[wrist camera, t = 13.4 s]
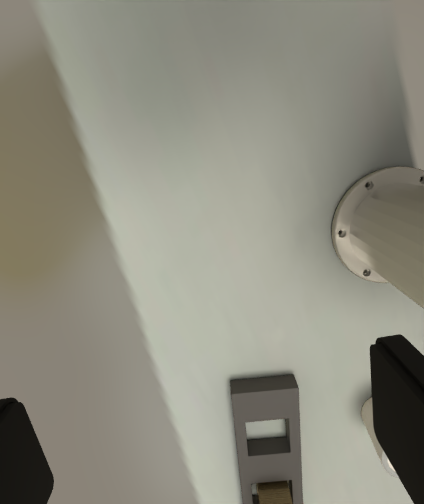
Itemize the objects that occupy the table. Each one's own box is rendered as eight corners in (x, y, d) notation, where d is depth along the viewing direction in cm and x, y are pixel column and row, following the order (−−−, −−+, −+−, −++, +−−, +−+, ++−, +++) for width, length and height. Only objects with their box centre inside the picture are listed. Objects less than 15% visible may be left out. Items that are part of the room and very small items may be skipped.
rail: (293, 374, 43) (298, 387, 41) (299, 513, 50) (303, 531, 48) (229, 380, 43) (231, 394, 41) (244, 518, 51) (246, 536, 48)
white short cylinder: (395, 379, 44) (429, 422, 37) (417, 416, 45) (453, 462, 39) (346, 405, 45) (371, 450, 38) (370, 439, 47) (397, 489, 40)
